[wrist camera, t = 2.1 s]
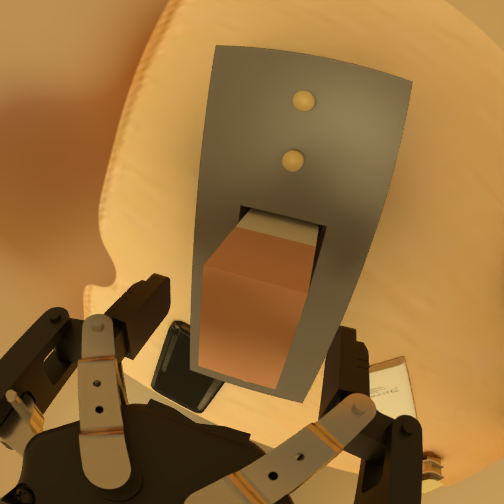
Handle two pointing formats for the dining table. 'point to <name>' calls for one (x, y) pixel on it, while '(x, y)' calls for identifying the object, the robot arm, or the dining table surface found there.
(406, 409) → the external hard drive
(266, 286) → the plug
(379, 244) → the dining table surface
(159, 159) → the dining table surface
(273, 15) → the dining table surface
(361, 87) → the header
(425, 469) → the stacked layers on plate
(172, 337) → the phone
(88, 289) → the dining table surface
